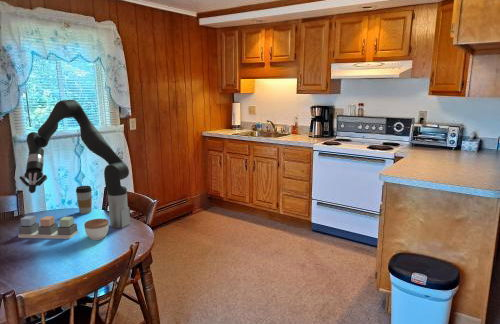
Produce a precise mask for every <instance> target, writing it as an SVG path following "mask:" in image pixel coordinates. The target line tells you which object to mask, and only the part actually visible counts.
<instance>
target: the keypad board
mask: <svg viewBox="0 0 500 324" xmlns="http://www.w3.org/2000/svg"><path fill="white" fill-rule="evenodd" d="M17 229H18V234H17V236H18V238H19V239H20V238H22V239H59V240H63V239H65V240H70V239H71V238H73V237H74V236H76V235H77V234H78V233H79V229H78V223H74V224H73V225H71V226H70V227H60V226H59V223H58V222H55V223H54V224H53V225H51V226H50V227H48V226H41V225H40V222H36V223H35V224H33V225H31V226H21V225H20V226H18V228H17Z"/></svg>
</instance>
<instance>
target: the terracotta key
mask: <svg viewBox="0 0 500 324" xmlns="http://www.w3.org/2000/svg"><path fill="white" fill-rule="evenodd" d="M55 220H56V219H55V216H54V215H53V216H50V215H45V216H43V217H41V218H40V219H39V226H48V227H50V226H51V225H53V224H54V223H56V221H55Z"/></svg>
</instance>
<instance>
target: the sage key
mask: <svg viewBox="0 0 500 324" xmlns="http://www.w3.org/2000/svg"><path fill="white" fill-rule="evenodd" d="M73 224H75V222H74V216H63V217H61V218H60V219H59V227H70V226H71V225H73Z"/></svg>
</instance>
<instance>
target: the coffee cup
mask: <svg viewBox="0 0 500 324" xmlns="http://www.w3.org/2000/svg"><path fill="white" fill-rule="evenodd" d="M92 191H93V190H92V187H91V186H90V185H80V186H77V187H76V189H75V194H76V200H77V206H78V207H77V208H78V211H79V213H80V214H82V215H85V214H90V213H91V212H92V211H93V210H92V208H93V207H92V204H93V203H92V201H93V200H92V199H93V197H92Z"/></svg>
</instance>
